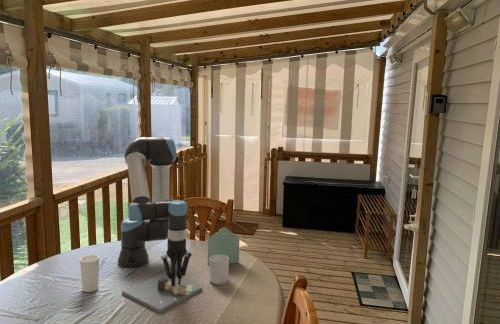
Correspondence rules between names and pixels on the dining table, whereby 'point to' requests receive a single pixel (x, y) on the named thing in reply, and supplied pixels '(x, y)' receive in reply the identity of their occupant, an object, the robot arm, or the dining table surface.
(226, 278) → the mug
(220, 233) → the teal house-shaped block
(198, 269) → the dining table surface
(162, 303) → the dial board
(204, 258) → the dining table surface
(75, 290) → the dining table surface
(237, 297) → the dining table surface
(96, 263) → the cup
